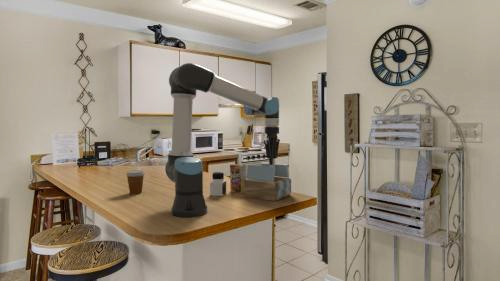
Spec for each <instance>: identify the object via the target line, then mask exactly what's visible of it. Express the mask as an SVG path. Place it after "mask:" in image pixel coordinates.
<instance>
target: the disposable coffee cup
mask: <svg viewBox="0 0 500 281" xmlns="http://www.w3.org/2000/svg"><path fill="white" fill-rule="evenodd" d="M125 175H126V177H127V184H128V190H129V191H128V192H129V194H130V195H139V194H142V193H143V186H144V176H145V171H144V170H139V169H138V170H128V171H126V174H125Z"/></svg>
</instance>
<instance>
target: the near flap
mask: <svg viewBox="0 0 500 281" xmlns="http://www.w3.org/2000/svg"><path fill="white" fill-rule="evenodd" d="M246 169H247V170H246V179H255V180H263V181H272V182H274V177H276V176H275V167H265V166H261V165H251V164H248V165H247V168H246Z"/></svg>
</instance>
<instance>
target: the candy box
mask: <svg viewBox="0 0 500 281" xmlns="http://www.w3.org/2000/svg"><path fill="white" fill-rule="evenodd" d="M246 166H247V165H244V164H236V163H232V164H229V180H230V182H229V183H230V186H229V188H230V189H229V190H230V192H234V193H237V194H245V179H247V178H246V175H247V170H246V169H247V167H246Z"/></svg>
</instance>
